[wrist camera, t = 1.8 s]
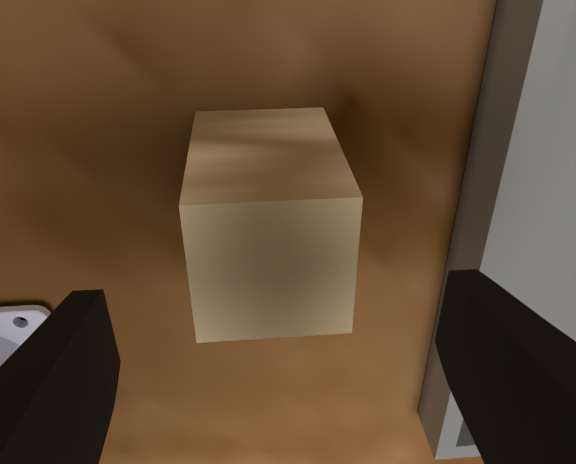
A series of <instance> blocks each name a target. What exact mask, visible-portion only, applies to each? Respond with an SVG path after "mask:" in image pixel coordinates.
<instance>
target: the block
mask: <svg viewBox="0 0 576 464" xmlns="http://www.w3.org/2000/svg"><path fill="white" fill-rule="evenodd" d="M362 203H363V196H362V194H361V191H360V189H359V187H358V185H357V182H356V180H355V178H354V176H353V173H352V171H351V169H350V167H349V164H348V162H347V160H346V158H345V155H344V153H343V151H342V149H341V146H340V144H339V142H338V140H337V137H336V135H335V133H334V130H333V128H332V126H331V124H330V121H329V119H328V117H327V115H326V112H325V110H324V108H323V107H318V108H287V109H257V110H226V111H195V116H194V122H193V127H192V133H191V139H190V144H189V150H188V156H187V161H186V167H185V173H184V178H183V184H182V190H181V195H180V201H179V212H180V219H181V227H182V235H183V242H184V250H185V258H186V266H187V273H188V281H189V289H190V296H191V304H192V312H193V320H194V327H195V335H196V343H204V342H219V341H234V340H250V339H265V338H281V337H296V336H311V335H327V334H342V333H352V324H353V312H354V300H355V288H356V276H357V264H358V252H359V240H360V227H361V215H362Z"/></svg>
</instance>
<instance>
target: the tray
mask: <svg viewBox="0 0 576 464" xmlns="http://www.w3.org/2000/svg"><path fill="white" fill-rule="evenodd" d="M468 269H477V270H479V271H480V272H482V273H483V274H485V275H486V276H487V277H489V278H490V279H492V280H493V281H494V282H496V283H497V284H498V285H500V286H501V287H502V288H504V289H505V290H506V291H508V292H509V293H510V294H512V295H513V296H514V297H516V298H517V299H518V300H520V301H521V302H522V303H524V304H525V305H526V306H528V307H529V308H530V309H532V310H533V311H534V312H536V313H537V314H538V315H540V316H541V317H542V318H544V319H545V320H546V321H548V322H549V323H551V324H552V325H553V326H555V327H556V328H557V329H559V330H560V331H562V332H563V333H565V334H566V335H567V336H569V337H570V338H572V339H573V340H575V341H576V0H497V5H496V10H495V16H494V21H493V26H492V31H491V36H490V41H489V47H488V52H487V57H486V62H485V67H484V72H483V78H482V83H481V88H480V93H479V98H478V103H477V109H476V114H475V119H474V124H473V129H472V134H471V140H470V145H469V150H468V155H467V160H466V165H465V171H464V176H463V181H462V186H461V191H460V196H459V202H458V207H457V212H456V217H455V222H454V227H453V233H452V238H451V243H450V248H449V253H448V258H447V263H446V269H445V274H444V279H443V284H442V289H441V294H440V300H439V305H438V310H437V315H436V320H435V325H434V331H433V336H432V341H431V346H430V351H429V356H428V362H427V367H426V372H425V377H424V382H423V387H422V393H421V398H420V403H419V408H418V415H419V418H420V420H421V423H422V426H423V429H424V431H425V434H426V437H427V440H428V443H429V445H430V448H431V451H432V454H433V456H434V459H435V460H439V459H451V458H463V457H475V456H481V455H480V453H479V451H478V449H477V447H476V445H475V442H474V440H473V438H472V436H471V434H470V432H469V430H468V427H467V425H466V423H465V421H464V419H463V417H462V414H461V412H460V410H459V408H458V406H457V404H456V401H455V399H454V397H453V395H452V392H451V390H450V388H449V386H448V383H447V380H446V377H445V374H444V371H443V368H442V365H441V362H440V358H439V355H438V351H437V348H436V345H435V337H436V332H437V327H438V322H439V317H440V312H441V307H442V302H443V297H444V292H445V287H446V282H447V277H448V272H449V271H450V270H468Z"/></svg>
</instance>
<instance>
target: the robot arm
mask: <svg viewBox="0 0 576 464" xmlns="http://www.w3.org/2000/svg"><path fill="white" fill-rule="evenodd" d="M18 317H23V318H25V319H26V320H27V321H24V320H21V319H19V318H18ZM435 345H436V348H437V351H438V355H439V358H440V362H441V365H442V368H443V371H444V374H445V377H446V380H447V383H448V386H449V388H450V390H451V392H452V395H453V397H454V399H455V401H456V404H457V406H458V408H459V410H460V412H461V414H462V417H463V419H464V421H465V423H466V425H467V427H468V430H469V432H470V434H471V436H472V438H473V440H474V442H475V445H476V447H477V449H478V451H479V453H480V455H481V457H482V460H483V462H484V464H576V341H575V340H573V339H572V338H570V337H569V336H567V335H566V334H565V333H563V332H562V331H560V330H559V329H557V328H556V327H555V326H553V325H552V324H551V323H549V322H548V321H546V320H545V319H544V318H542V317H541V316H540V315H538V314H537V313H536V312H534V311H533V310H532V309H530V308H529V307H528V306H526V305H525V304H524V303H522V302H521V301H520V300H518V299H517V298H516V297H514V296H513V295H512V294H510V293H509V292H508V291H506V290H505V289H504V288H502V287H501V286H500V285H498V284H497V283H496V282H494V281H493V280H492V279H490V278H489V277H487V276H486V275H485V274H483V273H482V272H480V271H479V270H477V269H468V270H450V271H449V272H448V277H447V282H446V287H445V292H444V297H443V302H442V307H441V312H440V317H439V322H438V327H437V332H436V337H435ZM119 369H120V357H119V353H118V349H117V345H116V341H115V337H114V333H113V328H112V324H111V320H110V316H109V312H108V308H107V304H106V299H105V295H104V291H103V289H101V290H82V291H72V292H71V293H70V294H69V295H68V296H67V297H66V298H65V299H64V300H63V301H62V302H61V303H60V304H59V305H58V306H57V308H56V309H55V310H54V311H53V312H52V313H50V311H49V310H48V309H47V308H45V307H43V306H40V305H24V306H7V307H0V464H99V460H100V456H101V453H102V449H103V446H104V442H105V438H106V435H107V431H108V428H109V424H110V420H111V417H112V413H113V409H114V404H115V397H116V391H117V384H118V377H119Z"/></svg>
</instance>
